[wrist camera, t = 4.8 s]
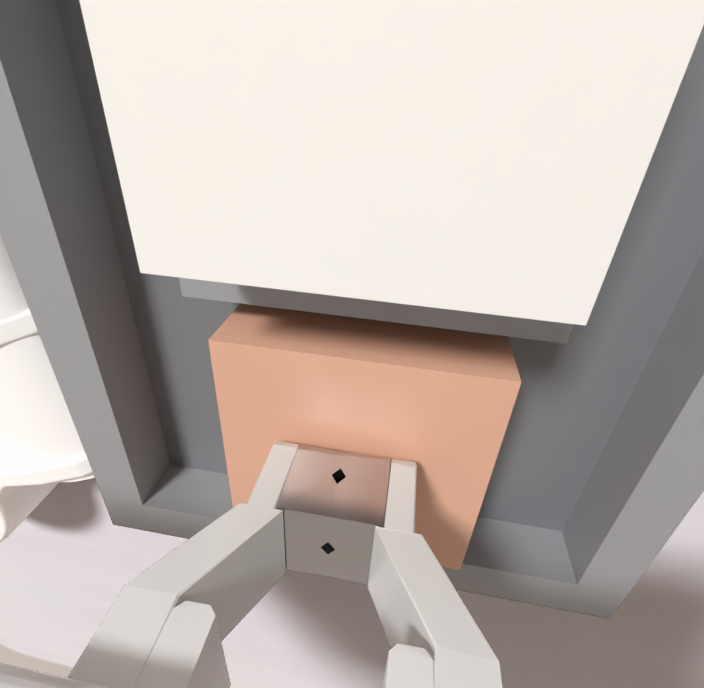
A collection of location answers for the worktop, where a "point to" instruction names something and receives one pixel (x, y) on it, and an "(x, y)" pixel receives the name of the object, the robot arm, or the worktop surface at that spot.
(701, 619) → the worktop surface
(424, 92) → the off-white square tile
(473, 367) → the block
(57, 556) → the worktop surface
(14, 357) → the knuckle duster
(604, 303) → the grey divided tray
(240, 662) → the worktop surface
